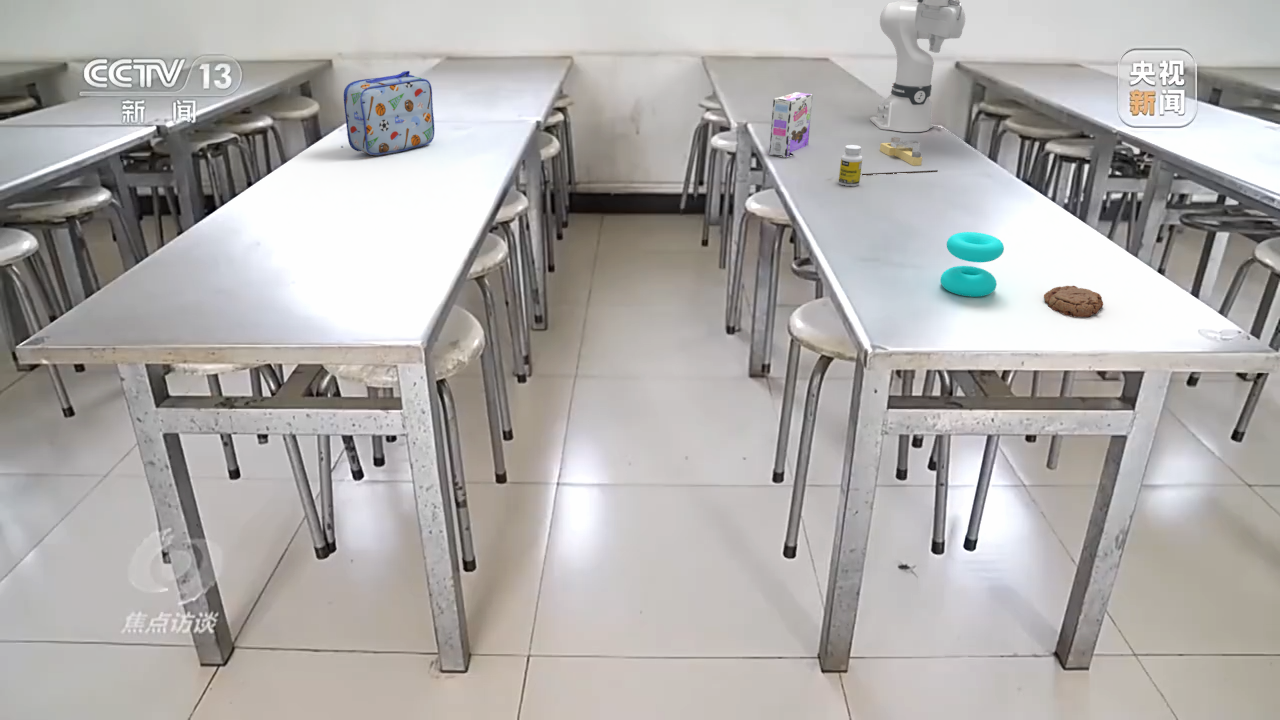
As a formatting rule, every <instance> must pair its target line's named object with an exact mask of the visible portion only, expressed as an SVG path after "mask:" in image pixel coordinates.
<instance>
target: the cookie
mask: <svg viewBox="0 0 1280 720" xmlns="http://www.w3.org/2000/svg"><path fill="white" fill-rule="evenodd" d="M1043 300H1044V302H1045V303H1046V304H1047V305H1048V307H1049V308H1050V309H1051V310H1052V311H1055V312H1059V314H1062V315H1064V316H1068V317H1072V318H1088V317H1089V318H1090V317H1091V316H1093V315H1096V314H1098V312H1100V311H1099V310H1100V309H1101V308H1103V306H1104V301H1103V298H1102V296H1101V294H1100V293H1097V292H1095V291H1092V290H1091V289H1088V288H1082V287H1077V286H1075V285H1063V286H1056V287H1054V288H1052V289H1050V290H1048V291H1047V292H1045V293H1044V294H1043Z"/></svg>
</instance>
